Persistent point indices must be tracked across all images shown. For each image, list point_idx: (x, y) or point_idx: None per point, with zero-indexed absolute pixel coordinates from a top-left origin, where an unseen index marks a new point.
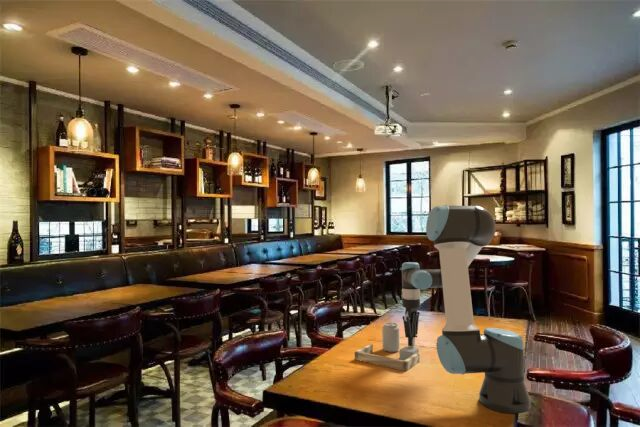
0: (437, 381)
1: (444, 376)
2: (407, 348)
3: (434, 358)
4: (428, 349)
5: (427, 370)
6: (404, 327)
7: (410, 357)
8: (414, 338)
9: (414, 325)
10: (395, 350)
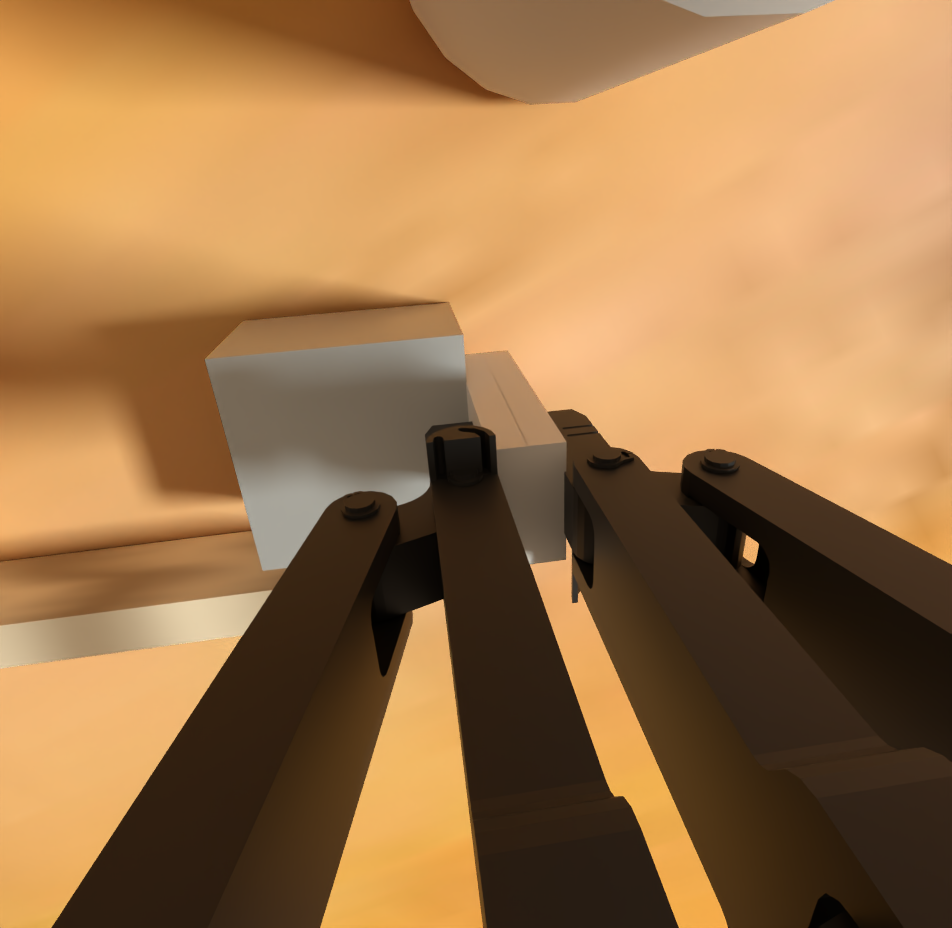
0: (14, 862)
1: None
2: (375, 422)
3: (557, 600)
4: (848, 407)
5: (172, 714)
6: (194, 717)
7: (80, 627)
8: (532, 557)
9: (667, 782)
10: (478, 83)
